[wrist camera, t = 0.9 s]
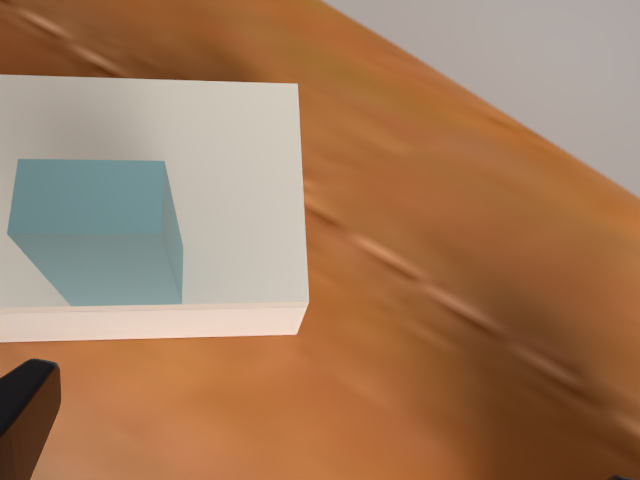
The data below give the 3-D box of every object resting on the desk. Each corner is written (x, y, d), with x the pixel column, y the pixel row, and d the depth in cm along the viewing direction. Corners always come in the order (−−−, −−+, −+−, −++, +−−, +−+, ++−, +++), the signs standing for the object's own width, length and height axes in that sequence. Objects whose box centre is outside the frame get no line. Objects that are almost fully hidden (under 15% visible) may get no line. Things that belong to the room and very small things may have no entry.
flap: (307, 306, 21) (335, 232, 15) (-62, 314, 20) (-196, 234, 14) (296, 92, 25) (315, -38, 19) (-20, 83, 23) (-111, -63, 17)
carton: (296, 334, 25) (307, 307, 21) (-15, 342, 23) (-62, 315, 20) (288, 145, 28) (296, 93, 25) (16, 140, 27) (-19, 84, 23)
